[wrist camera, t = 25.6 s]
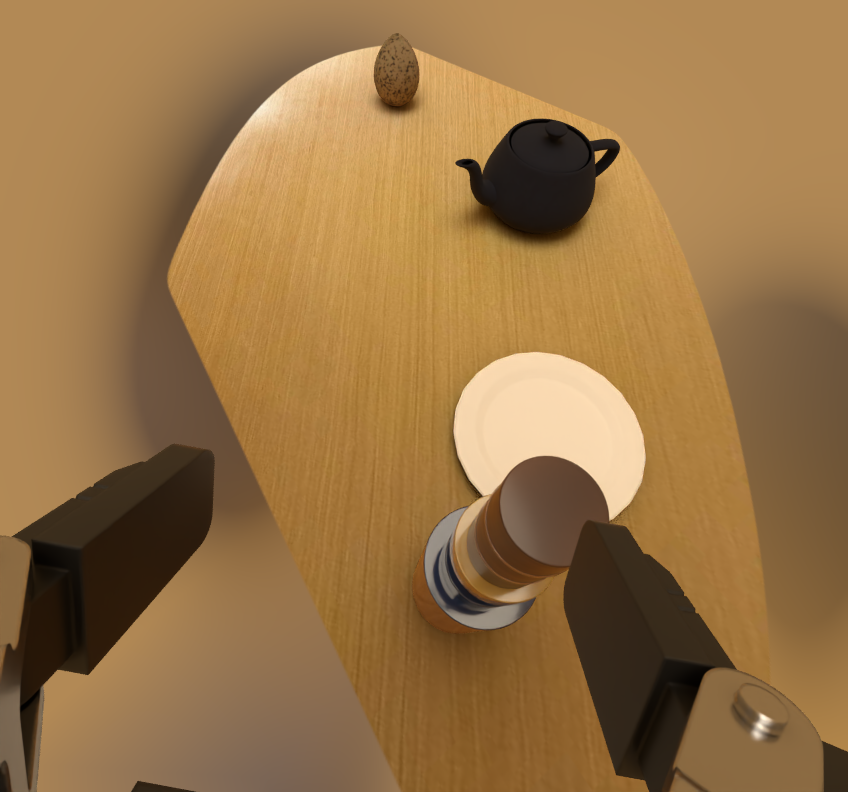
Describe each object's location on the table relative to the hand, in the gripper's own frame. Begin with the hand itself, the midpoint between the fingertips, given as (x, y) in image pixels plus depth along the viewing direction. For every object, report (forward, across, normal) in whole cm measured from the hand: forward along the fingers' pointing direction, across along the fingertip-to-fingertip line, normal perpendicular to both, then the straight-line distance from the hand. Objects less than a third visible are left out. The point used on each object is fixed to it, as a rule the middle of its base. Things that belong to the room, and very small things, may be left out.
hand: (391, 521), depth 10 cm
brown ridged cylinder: (+13, -6, +9) cm, 17 cm away
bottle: (+28, -6, +24) cm, 37 cm away
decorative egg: (+80, +13, -28) cm, 85 cm away
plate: (+40, -14, +12) cm, 44 cm away
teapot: (+66, -10, -14) cm, 68 cm away
